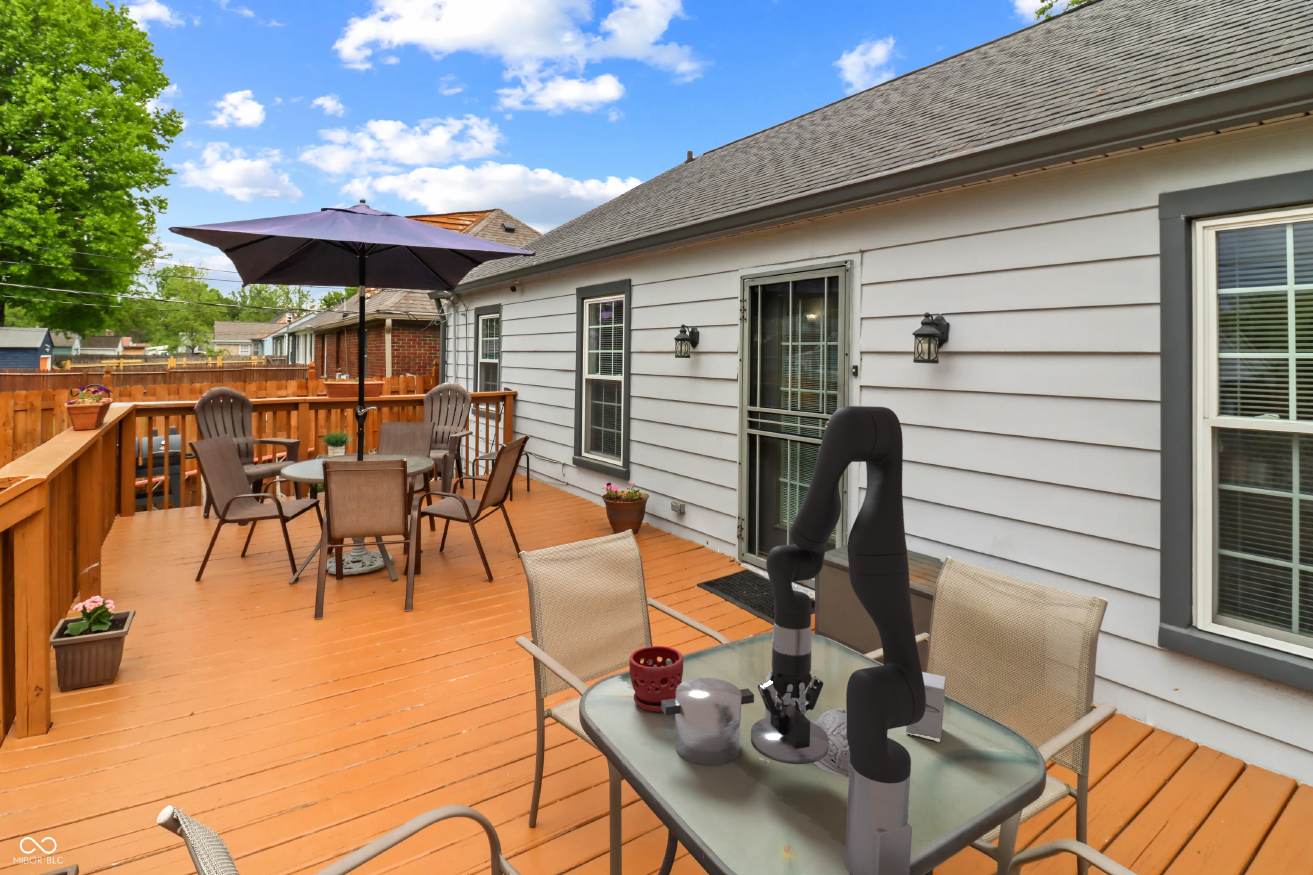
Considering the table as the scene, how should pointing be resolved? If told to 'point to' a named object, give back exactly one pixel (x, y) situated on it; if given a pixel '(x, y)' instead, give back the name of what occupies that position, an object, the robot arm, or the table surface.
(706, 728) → the cooker
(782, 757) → the lid
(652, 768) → the table surface
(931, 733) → the supplement box
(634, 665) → the plant pot
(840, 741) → the grey oval domed piece
